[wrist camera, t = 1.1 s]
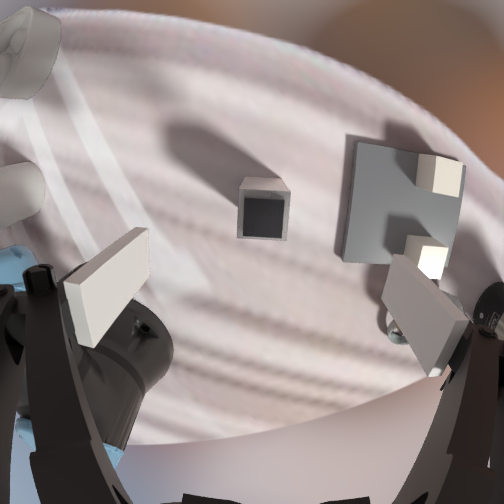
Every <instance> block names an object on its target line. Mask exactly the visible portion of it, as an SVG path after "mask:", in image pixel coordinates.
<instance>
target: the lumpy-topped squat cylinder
mask: <svg viewBox="0 0 504 504" xmlns="http://www.w3.org/2000/svg"><path fill="white" fill-rule="evenodd" d="M61 27H62V25H61V21H60V19H59V18H57V17H55V16H52V15H50V14H48V13H46V12H44V11H41V10H39V9H36V8H34V7H32V6H26V7H23V8H21V9H20V10H19V11H17V12H16V13H15V14H13V15H12V16H10V17H7V18H5V19H3V20H2V21H1V22H0V98H9V99H25V100H26V99H30V98H32V97H33V96H34V95H35V94H36V93H37V92H38V91H39V90H40V89H41V87H42V86H43V84H44V83H45V81H46V80H47V78H48V76H49V74H50V72H51V70H52V68H53V66H54V64H55V61H56V58H57V54H58V49H59V44H60V37H61Z"/></svg>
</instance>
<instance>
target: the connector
mask: <svg viewBox="0 0 504 504" xmlns="http://www.w3.org/2000/svg"><path fill="white" fill-rule="evenodd" d="M290 195H291V192H290V190H289V189H288V187H287V186H286V184H285V183H284V181H283V180H282V178H269V177H252V176H245V178H244V180H243V181H242V183H241V185H240V187H239V196H238V221H237V238H244V239H262V240H279V241H287V231H288V219H289V207H290Z"/></svg>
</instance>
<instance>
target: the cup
mask: <svg viewBox="0 0 504 504" xmlns="http://www.w3.org/2000/svg"><path fill="white" fill-rule="evenodd" d="M44 200H45V181H44V177H43V175H42V172H41V171H40V169H39V168H38V166H37V165H35V164H34V163H32V162H22V163H17V164H12V165H7V166H3V167H0V230H2V229H4V228H6V227H8V226H10V225H12V224H15V223H17V222H19V221H21V220H23V219H26V218H28V217H30V216H33V215H35V214H37V213H38V212H39V211H40V209H41V208H42V206H43V203H44Z"/></svg>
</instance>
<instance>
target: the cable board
mask: <svg viewBox="0 0 504 504" xmlns="http://www.w3.org/2000/svg"><path fill="white" fill-rule="evenodd" d="M465 173H466V166H465V165H463V163H461V162H458V161H454V160H451V159H447V158H443V157H439V156H435V155H427V154H418V153H414V152H410V151H405V150H400V149H395V148H390V147H385V146H379V145H374V144H368V143H362V142H354V155H353V167H352V177H351V187H350V196H349V204H348V212H347V220H346V227H345V234H344V241H343V248H342V254H341V259H342V261H343V262H351V263H370V264H390V265H391V261H392V257H393V254H399V255H405V256H406V257H407V258H408V259H410V260H411V261H412V262H413V263H414V264H415V265H416V266H417V267H418V268H419V269H420V270H421V271H422V272H423V273H424V274H425V275H426V276H427V277H428V278H429V279H441V275H442V272H443V268H444V267H448V263H449V259H450V255H451V251H452V247H453V243H454V238H455V234H456V229H457V224H458V219H459V214H460V208H461V202H462V196H463V189H464V181H465Z"/></svg>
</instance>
